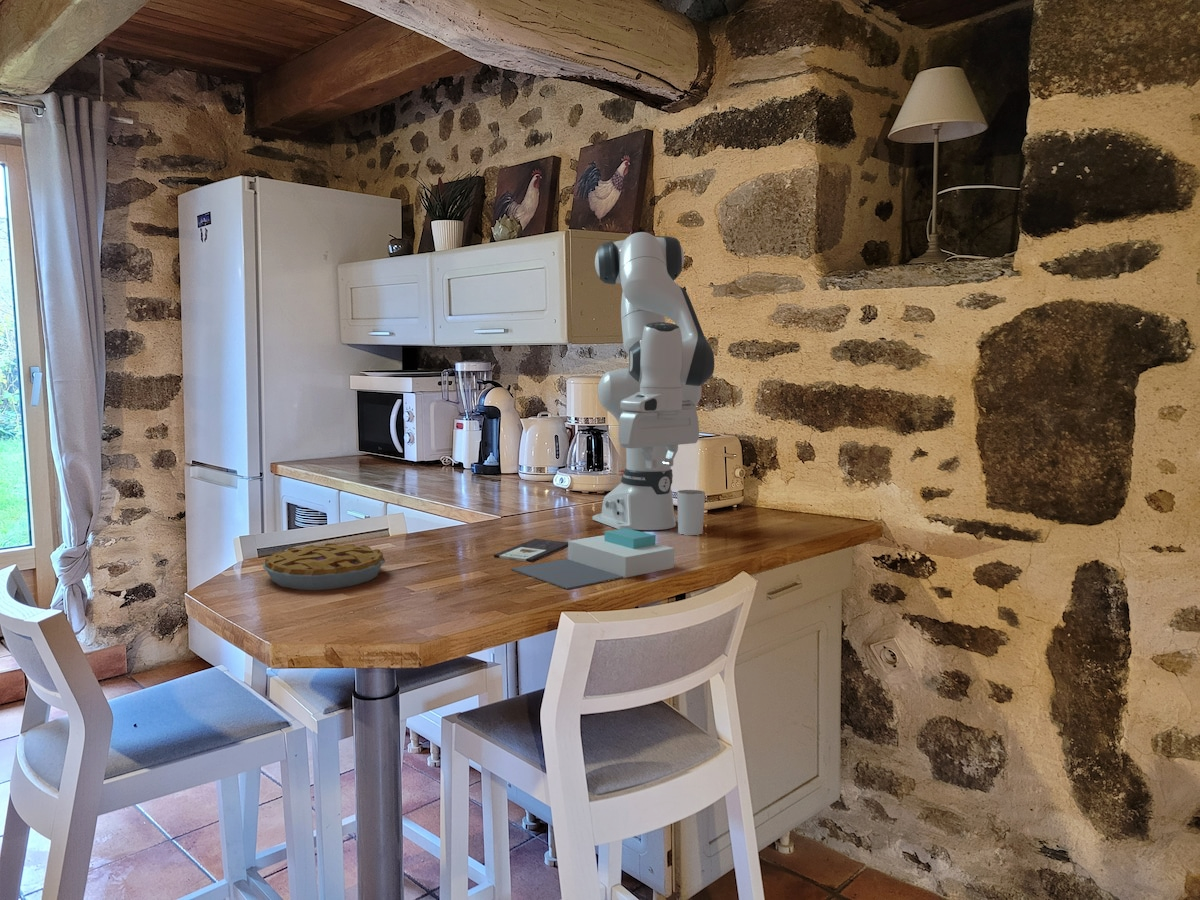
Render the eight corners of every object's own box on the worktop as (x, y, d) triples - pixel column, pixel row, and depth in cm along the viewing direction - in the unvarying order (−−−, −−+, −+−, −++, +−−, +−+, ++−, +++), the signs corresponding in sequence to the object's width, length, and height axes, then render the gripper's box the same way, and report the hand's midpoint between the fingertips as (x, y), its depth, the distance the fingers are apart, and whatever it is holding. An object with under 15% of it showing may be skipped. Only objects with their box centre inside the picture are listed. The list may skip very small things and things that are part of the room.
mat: (511, 569, 173) (511, 568, 173) (566, 560, 182) (566, 558, 182) (566, 589, 160) (566, 588, 159) (623, 578, 168) (623, 576, 168)
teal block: (604, 541, 182) (604, 531, 182) (626, 537, 186) (626, 528, 186) (633, 548, 175) (633, 538, 175) (655, 544, 179) (655, 535, 179)
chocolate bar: (570, 542, 196) (531, 559, 180) (570, 546, 196) (531, 564, 180) (535, 538, 200) (493, 554, 184) (535, 542, 200) (493, 559, 184)
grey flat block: (568, 559, 182) (568, 540, 182) (615, 551, 190) (615, 533, 190) (625, 577, 168) (625, 557, 168) (673, 567, 177) (674, 548, 176)
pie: (341, 558, 182) (340, 534, 181) (408, 576, 168) (407, 551, 168) (240, 578, 165) (240, 552, 165) (306, 600, 151) (305, 572, 151)
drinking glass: (671, 534, 209) (672, 492, 208) (682, 529, 215) (683, 488, 214) (698, 537, 206) (699, 495, 205) (708, 532, 212) (709, 491, 211)
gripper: (685, 399, 191) (684, 462, 193) (614, 401, 178) (613, 469, 180) (706, 400, 187) (705, 465, 188) (634, 403, 174) (633, 472, 175)
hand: (659, 467), depth 184 cm, fingers open, 3 cm apart
